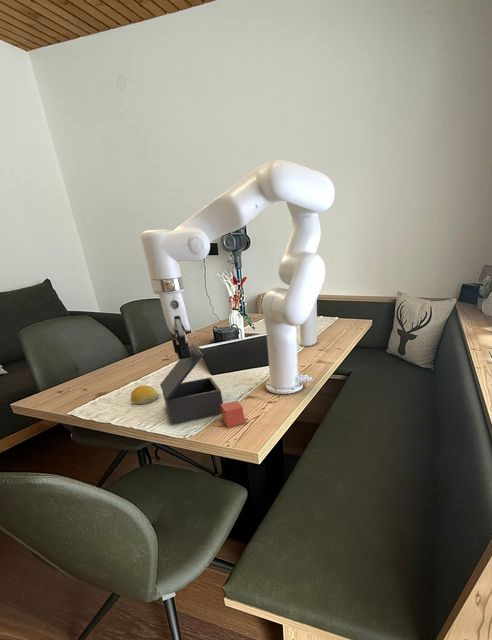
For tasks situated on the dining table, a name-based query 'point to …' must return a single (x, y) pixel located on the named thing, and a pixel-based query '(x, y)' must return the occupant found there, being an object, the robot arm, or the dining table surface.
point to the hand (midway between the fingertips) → (182, 354)
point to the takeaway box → (194, 401)
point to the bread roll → (143, 395)
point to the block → (232, 413)
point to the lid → (180, 372)
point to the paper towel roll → (309, 328)
